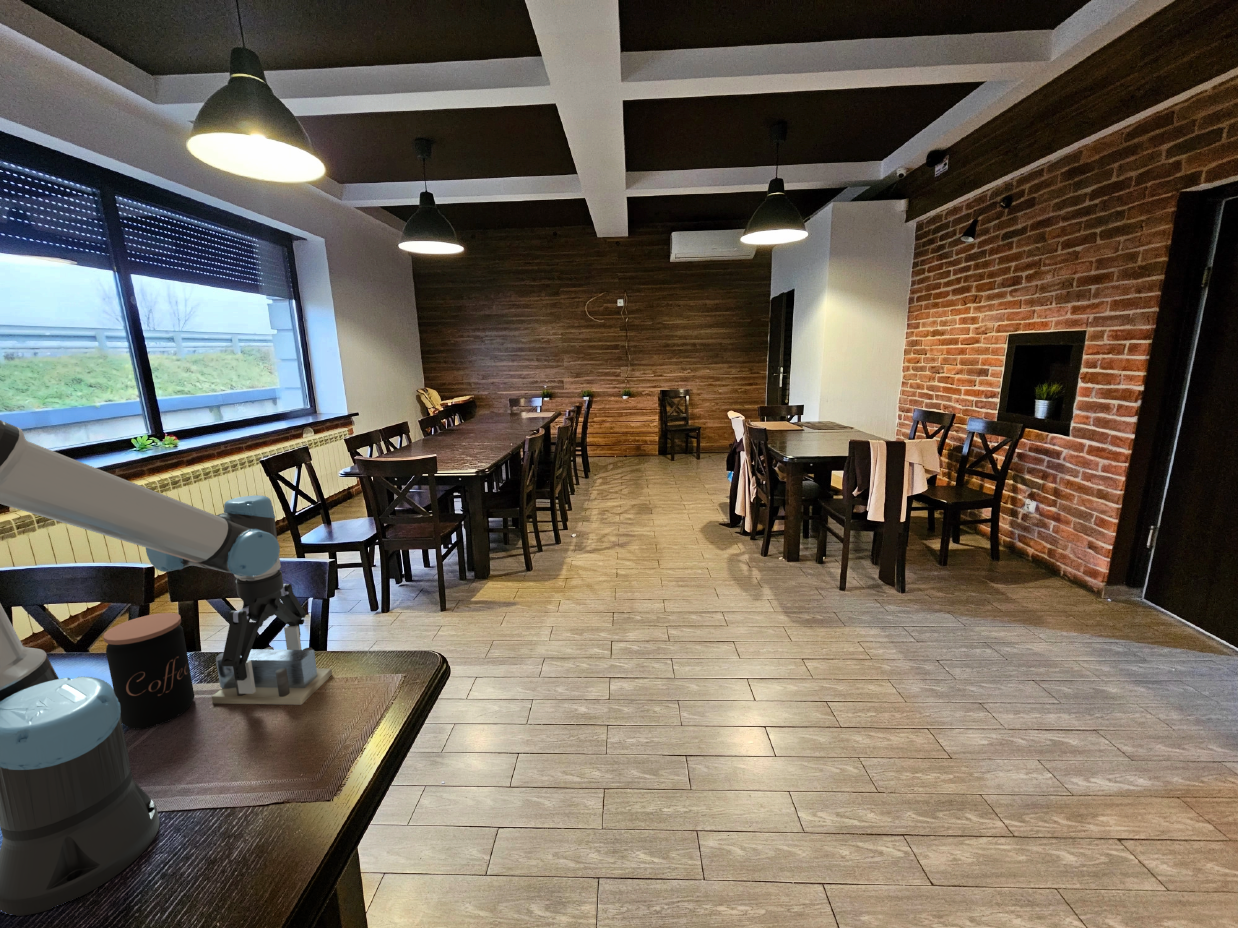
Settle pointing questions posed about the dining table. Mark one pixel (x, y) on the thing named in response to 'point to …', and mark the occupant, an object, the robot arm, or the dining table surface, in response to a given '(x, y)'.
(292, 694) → the peg rack
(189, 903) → the dining table surface
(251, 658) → the bevelled metal block
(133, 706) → the coffee jar
